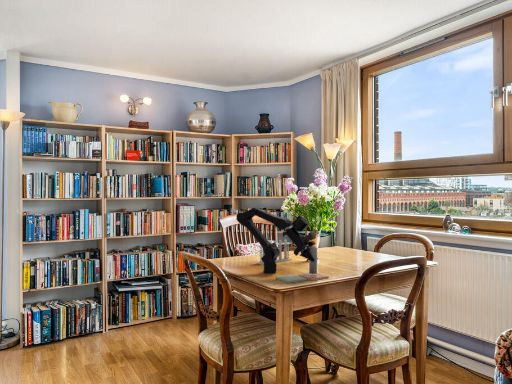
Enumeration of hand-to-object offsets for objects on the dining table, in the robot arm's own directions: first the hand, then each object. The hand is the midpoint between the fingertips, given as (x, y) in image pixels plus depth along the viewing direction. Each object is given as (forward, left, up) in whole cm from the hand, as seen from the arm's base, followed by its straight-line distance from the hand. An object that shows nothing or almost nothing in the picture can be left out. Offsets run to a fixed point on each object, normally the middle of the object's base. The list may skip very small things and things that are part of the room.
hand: (315, 260), depth 203 cm
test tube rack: (-19, +43, -9) cm, 48 cm away
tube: (-1, +1, -7) cm, 7 cm away
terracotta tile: (-1, +1, -9) cm, 9 cm away
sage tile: (-13, -4, -9) cm, 16 cm away
